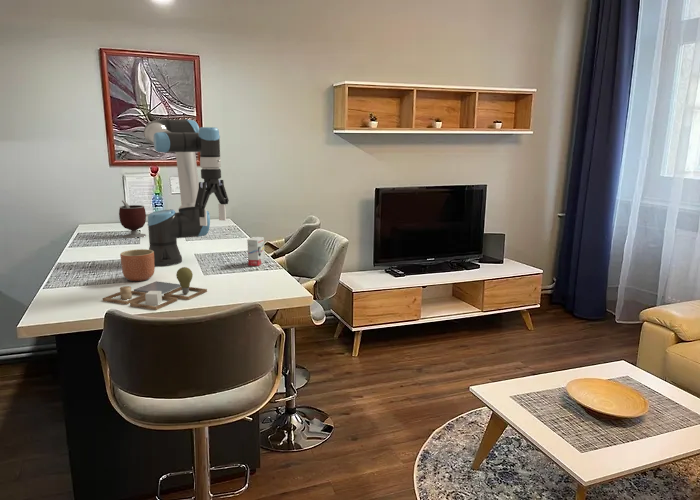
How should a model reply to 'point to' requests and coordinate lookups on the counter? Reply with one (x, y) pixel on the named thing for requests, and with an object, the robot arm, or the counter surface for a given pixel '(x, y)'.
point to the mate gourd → (132, 219)
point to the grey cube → (153, 297)
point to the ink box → (256, 251)
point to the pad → (158, 287)
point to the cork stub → (125, 292)
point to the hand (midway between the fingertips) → (213, 223)
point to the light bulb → (184, 278)
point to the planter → (137, 264)
